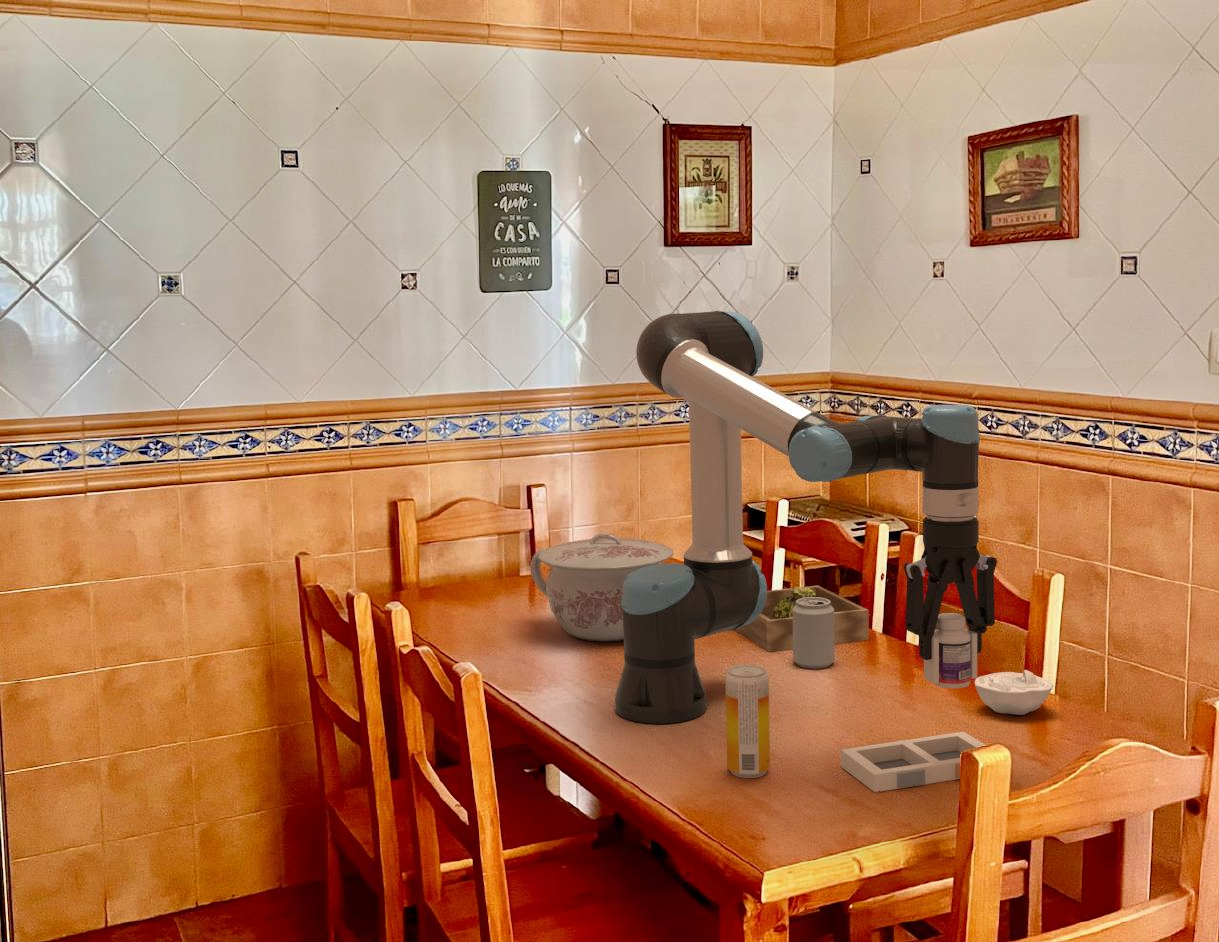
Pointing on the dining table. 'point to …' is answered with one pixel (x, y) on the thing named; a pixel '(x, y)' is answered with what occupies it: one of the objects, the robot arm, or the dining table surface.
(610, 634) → the chamber pot
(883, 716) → the dining table surface
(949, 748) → the socket block
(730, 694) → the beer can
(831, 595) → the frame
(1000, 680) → the cell model
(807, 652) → the can
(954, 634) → the pill bottle
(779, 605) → the green leafy plant
